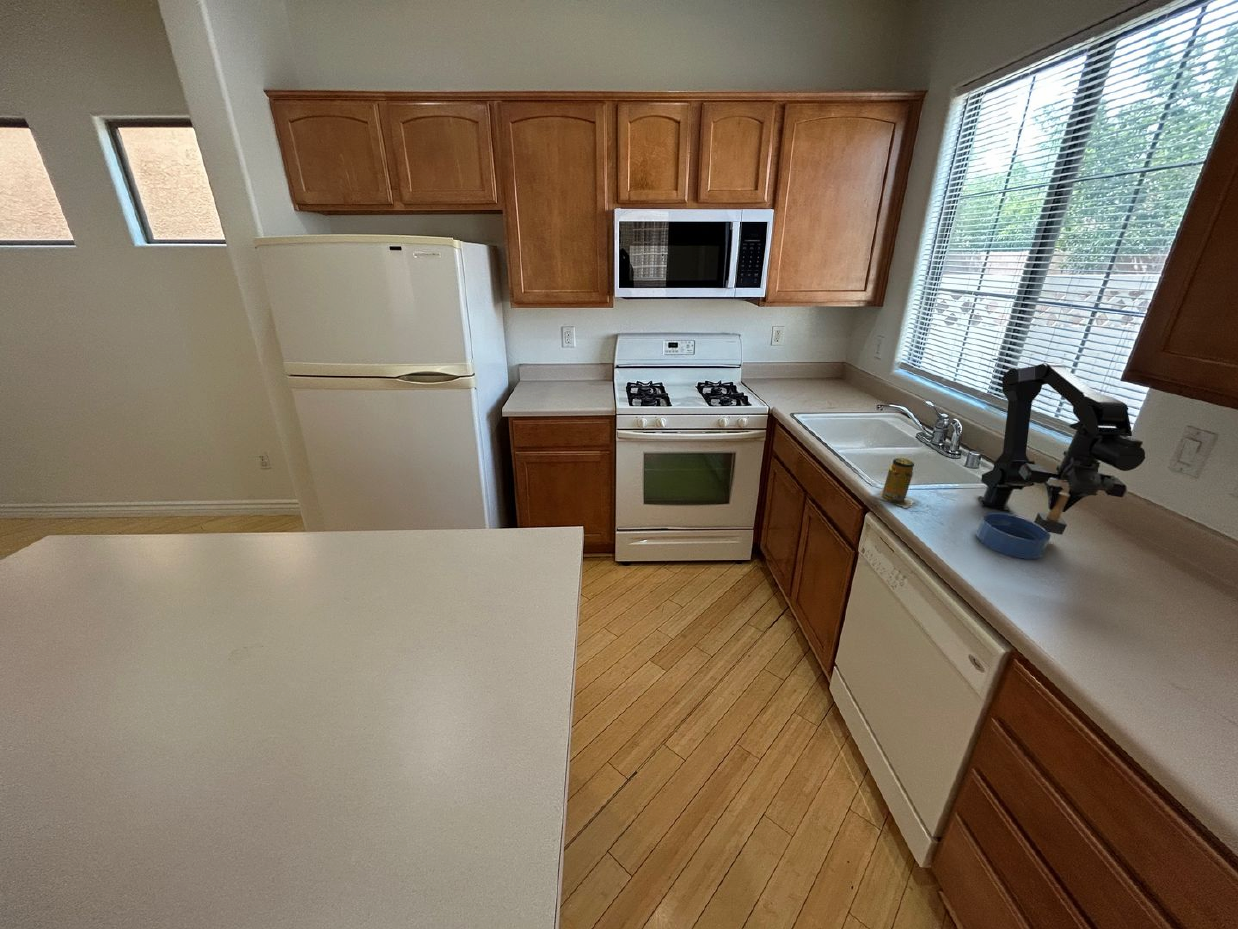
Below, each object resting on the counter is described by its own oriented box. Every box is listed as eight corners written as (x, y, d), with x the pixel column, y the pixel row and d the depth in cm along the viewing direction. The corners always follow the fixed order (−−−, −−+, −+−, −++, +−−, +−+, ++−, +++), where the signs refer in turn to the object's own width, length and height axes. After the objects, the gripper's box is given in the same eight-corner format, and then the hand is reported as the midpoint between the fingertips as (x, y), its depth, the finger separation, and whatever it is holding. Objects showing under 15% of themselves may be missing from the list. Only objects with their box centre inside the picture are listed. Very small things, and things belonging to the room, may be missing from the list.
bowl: (970, 526, 126) (977, 508, 124) (1031, 538, 122) (1039, 520, 119) (982, 551, 115) (990, 532, 113) (1049, 566, 111) (1058, 546, 108)
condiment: (886, 490, 144) (897, 454, 139) (916, 501, 138) (928, 464, 133) (875, 497, 140) (886, 460, 135) (905, 509, 134) (917, 470, 129)
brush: (1033, 522, 122) (1049, 488, 118) (1056, 527, 120) (1073, 492, 116) (1038, 530, 119) (1054, 495, 115) (1062, 535, 117) (1079, 499, 113)
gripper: (1046, 457, 108) (1020, 516, 114) (1154, 474, 101) (1120, 535, 107) (1030, 441, 117) (1007, 496, 123) (1129, 455, 110) (1098, 513, 117)
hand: (1056, 510), depth 117 cm, fingers closed on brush, 2 cm apart
